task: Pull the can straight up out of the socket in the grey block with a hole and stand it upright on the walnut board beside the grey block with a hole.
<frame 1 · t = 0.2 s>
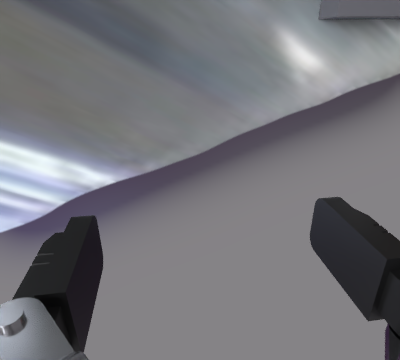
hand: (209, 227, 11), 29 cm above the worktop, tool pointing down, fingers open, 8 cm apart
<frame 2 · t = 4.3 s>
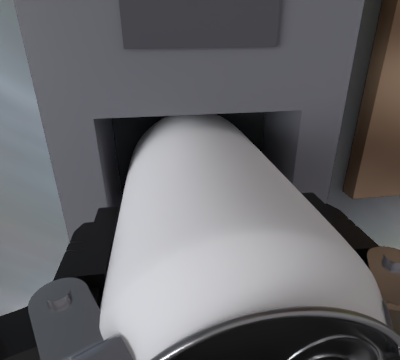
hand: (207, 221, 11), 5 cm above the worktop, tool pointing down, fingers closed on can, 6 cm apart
grey block with hole: (190, 92, 14), on the worktop
can: (191, 167, 16), resting in grey block with hole, touching gripper
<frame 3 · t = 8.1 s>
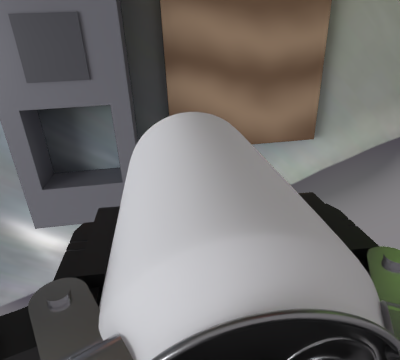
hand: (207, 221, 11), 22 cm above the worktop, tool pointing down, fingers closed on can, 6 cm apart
grey block with hole: (75, 97, 30), on the worktop
can: (190, 168, 16), point 17 cm above the worktop, touching gripper
walnut board: (244, 66, 31), on the worktop
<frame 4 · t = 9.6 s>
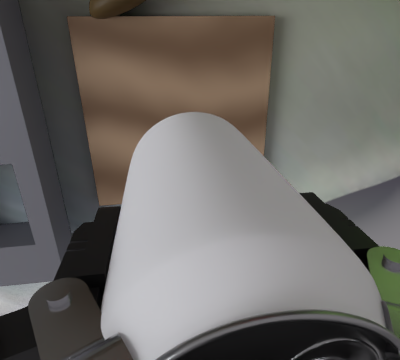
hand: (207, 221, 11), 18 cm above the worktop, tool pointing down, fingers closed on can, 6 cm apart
can: (191, 168, 16), point 12 cm above the worktop, touching gripper
walnut board: (178, 116, 27), on the worktop
when the fingers open (8 cm above the worktop, at t = 12.3 s): can drops 1 cm, resting on walnut board.
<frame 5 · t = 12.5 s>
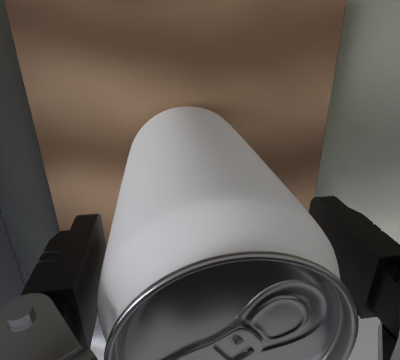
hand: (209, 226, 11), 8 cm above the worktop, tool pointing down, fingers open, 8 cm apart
can: (186, 159, 18), point 1 cm above the worktop, touching walnut board
walnut board: (188, 154, 18), on the worktop
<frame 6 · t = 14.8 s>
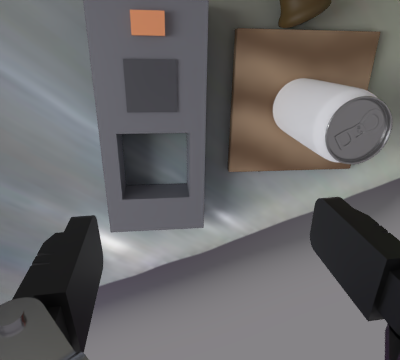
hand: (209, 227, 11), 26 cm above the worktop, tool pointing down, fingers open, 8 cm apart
grey block with hole: (154, 123, 35), on the worktop
can: (297, 106, 35), point 1 cm above the worktop, touching walnut board
walnut board: (296, 104, 36), on the worktop
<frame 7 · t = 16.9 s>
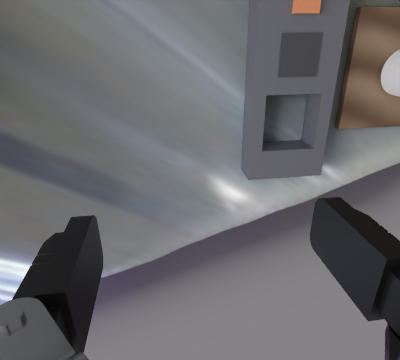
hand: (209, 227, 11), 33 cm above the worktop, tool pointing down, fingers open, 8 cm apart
grey block with hole: (283, 88, 43), on the worktop
can: (399, 71, 43), point 1 cm above the worktop, touching walnut board
walnut board: (396, 70, 44), on the worktop
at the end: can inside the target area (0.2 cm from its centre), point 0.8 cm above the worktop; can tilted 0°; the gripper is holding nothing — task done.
